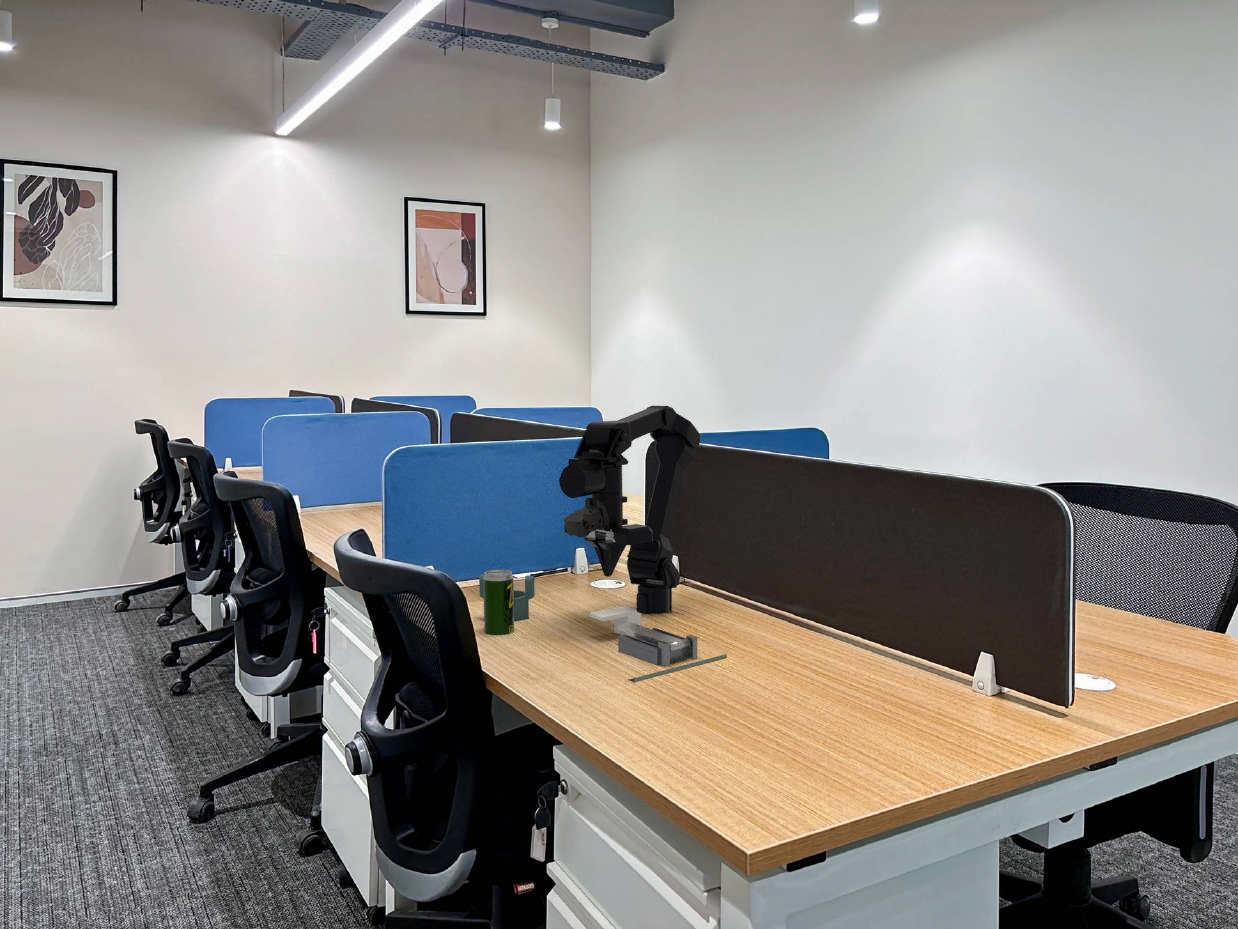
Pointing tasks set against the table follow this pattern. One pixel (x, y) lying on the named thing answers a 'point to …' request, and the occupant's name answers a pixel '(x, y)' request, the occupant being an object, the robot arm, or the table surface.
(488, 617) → the beer can
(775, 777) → the table surface
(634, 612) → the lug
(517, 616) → the bracket
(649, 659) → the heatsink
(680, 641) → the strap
